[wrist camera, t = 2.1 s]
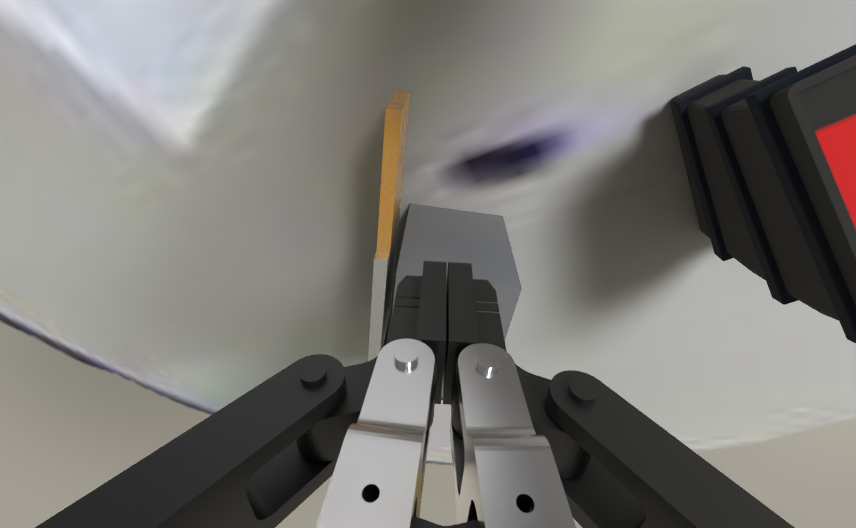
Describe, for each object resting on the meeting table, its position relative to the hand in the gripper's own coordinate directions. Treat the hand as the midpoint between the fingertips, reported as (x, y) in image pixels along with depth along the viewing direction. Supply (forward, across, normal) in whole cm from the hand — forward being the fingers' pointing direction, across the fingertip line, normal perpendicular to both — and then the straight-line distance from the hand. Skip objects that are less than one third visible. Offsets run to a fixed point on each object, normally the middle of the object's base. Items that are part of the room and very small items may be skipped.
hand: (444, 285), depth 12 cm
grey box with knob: (+17, -1, +11) cm, 20 cm away
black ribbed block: (+17, -17, -1) cm, 24 cm away
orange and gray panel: (+16, +4, +6) cm, 17 cm away
